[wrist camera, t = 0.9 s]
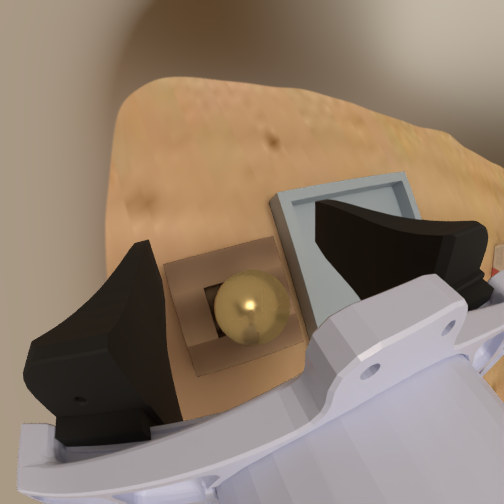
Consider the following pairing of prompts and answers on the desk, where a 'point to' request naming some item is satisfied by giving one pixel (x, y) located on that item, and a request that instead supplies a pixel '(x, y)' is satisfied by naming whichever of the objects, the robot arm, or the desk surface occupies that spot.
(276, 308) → the lock pin
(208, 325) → the brown square socket base
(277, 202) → the tray
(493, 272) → the ink cartridge box
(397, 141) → the desk surface
